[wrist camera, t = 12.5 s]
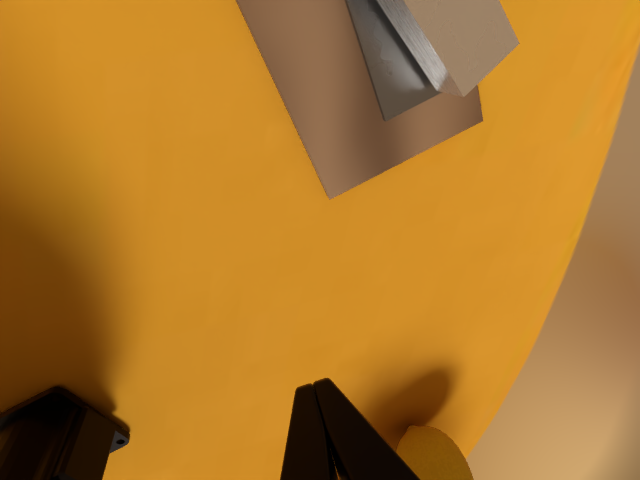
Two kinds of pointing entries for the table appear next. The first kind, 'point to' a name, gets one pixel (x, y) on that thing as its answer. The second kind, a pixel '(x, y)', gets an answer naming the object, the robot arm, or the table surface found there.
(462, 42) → the latch bar
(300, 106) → the door board
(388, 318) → the table surface
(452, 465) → the lemon
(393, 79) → the plate
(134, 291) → the table surface
